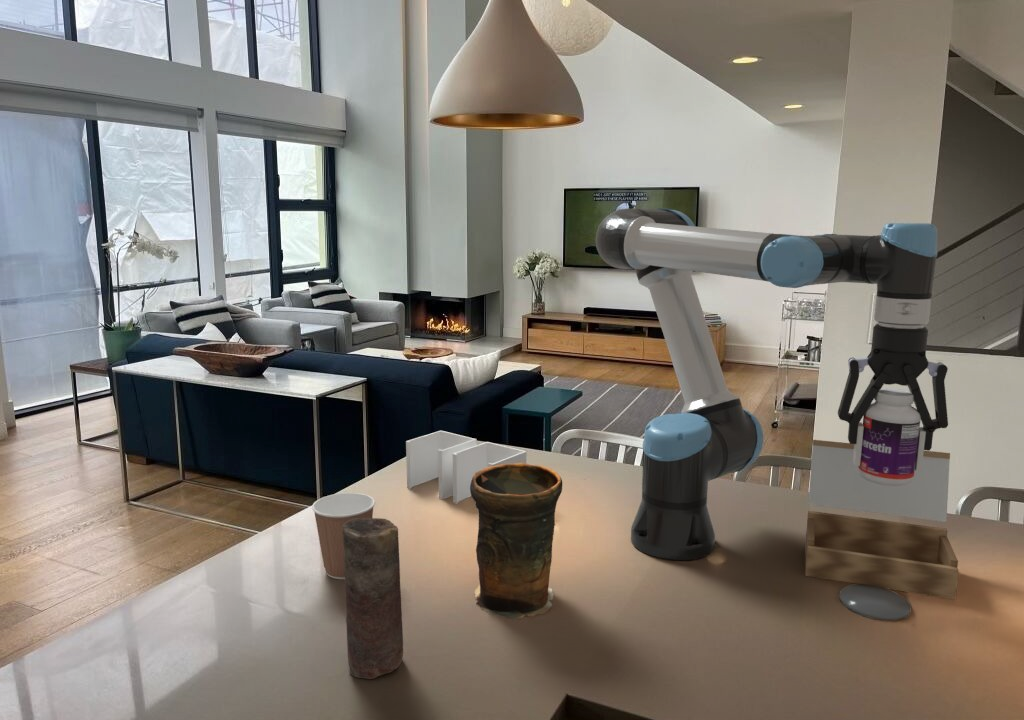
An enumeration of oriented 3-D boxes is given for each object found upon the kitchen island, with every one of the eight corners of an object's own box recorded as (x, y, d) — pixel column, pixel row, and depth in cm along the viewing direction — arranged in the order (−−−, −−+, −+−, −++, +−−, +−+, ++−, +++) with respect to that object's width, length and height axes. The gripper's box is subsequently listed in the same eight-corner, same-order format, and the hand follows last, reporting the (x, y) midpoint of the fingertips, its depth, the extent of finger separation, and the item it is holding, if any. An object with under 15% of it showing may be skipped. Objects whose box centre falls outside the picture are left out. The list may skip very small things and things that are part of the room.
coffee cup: (389, 563, 130) (387, 498, 128) (352, 589, 121) (350, 519, 118) (340, 552, 134) (338, 488, 132) (302, 577, 125) (298, 509, 123)
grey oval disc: (840, 612, 114) (841, 609, 114) (838, 583, 123) (838, 580, 123) (914, 625, 110) (915, 621, 110) (906, 594, 119) (906, 590, 119)
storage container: (526, 500, 159) (526, 451, 157) (492, 516, 151) (492, 464, 149) (441, 475, 175) (441, 430, 173) (407, 488, 166) (405, 441, 164)
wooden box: (805, 575, 126) (808, 536, 124) (805, 546, 137) (808, 510, 135) (954, 599, 118) (960, 557, 117) (941, 566, 129) (946, 528, 128)
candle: (352, 649, 104) (346, 513, 100) (405, 647, 105) (401, 512, 101) (344, 683, 96) (338, 537, 93) (401, 680, 97) (397, 535, 93)
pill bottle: (846, 474, 122) (853, 388, 119) (883, 468, 125) (892, 384, 122) (886, 491, 115) (895, 399, 112) (925, 484, 117) (935, 395, 115)
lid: (813, 439, 137) (812, 439, 138) (808, 504, 136) (808, 504, 136) (950, 453, 129) (949, 453, 130) (946, 522, 128) (945, 521, 129)
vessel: (572, 581, 123) (573, 466, 119) (547, 627, 110) (547, 499, 106) (490, 568, 128) (488, 457, 124) (457, 611, 115) (454, 488, 111)
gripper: (829, 324, 115) (817, 466, 119) (985, 331, 108) (966, 481, 113) (825, 318, 122) (814, 452, 126) (971, 324, 115) (954, 465, 120)
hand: (886, 465), depth 119 cm, fingers closed on pill bottle, 8 cm apart
